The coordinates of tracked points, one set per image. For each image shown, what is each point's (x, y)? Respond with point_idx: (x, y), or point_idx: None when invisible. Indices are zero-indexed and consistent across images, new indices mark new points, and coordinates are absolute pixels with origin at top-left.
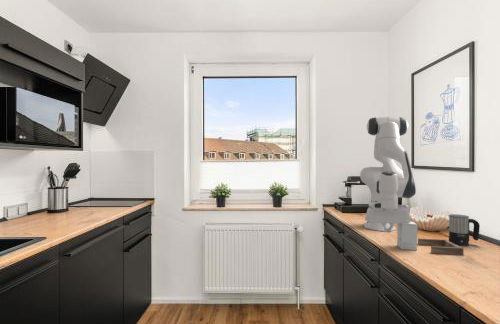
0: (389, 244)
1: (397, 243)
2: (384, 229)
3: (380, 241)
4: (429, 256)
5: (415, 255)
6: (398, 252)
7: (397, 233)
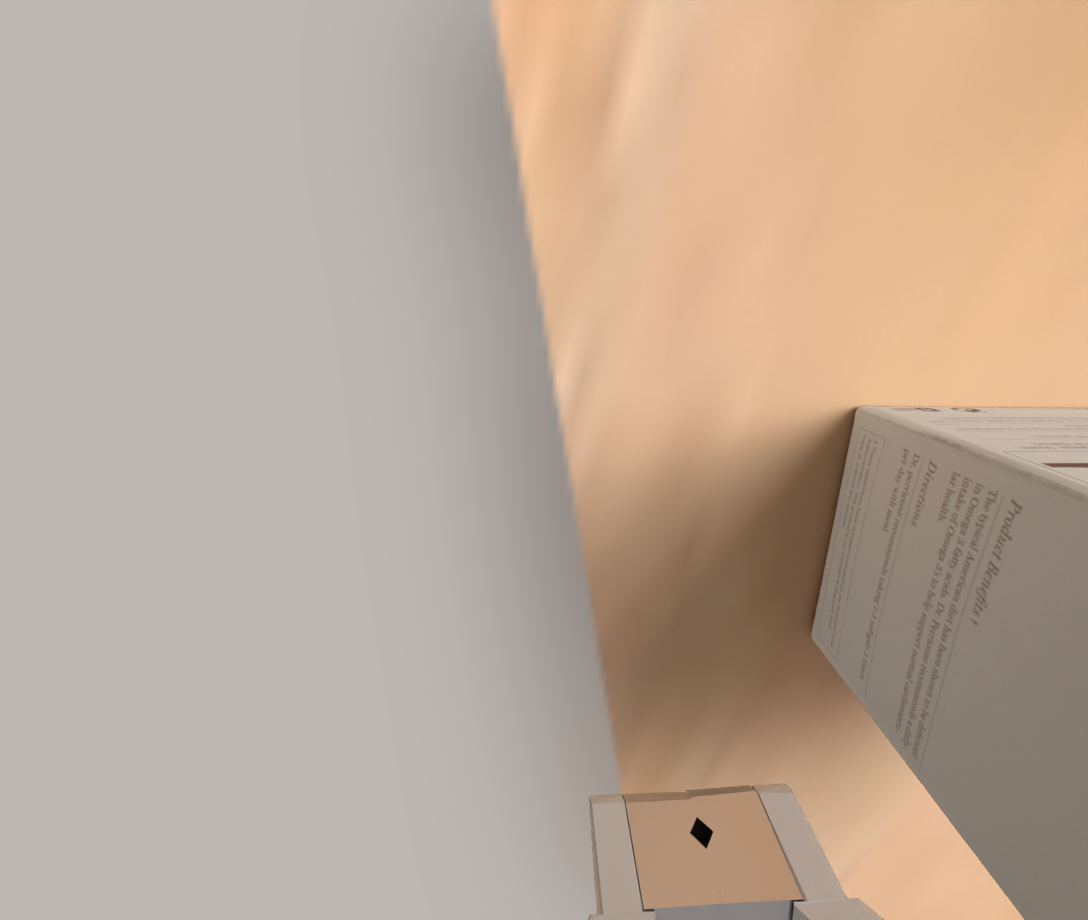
0: (726, 364)
1: (872, 453)
2: (598, 900)
3: (605, 126)
4: None
5: (867, 850)
6: (695, 785)
7: (1075, 513)
